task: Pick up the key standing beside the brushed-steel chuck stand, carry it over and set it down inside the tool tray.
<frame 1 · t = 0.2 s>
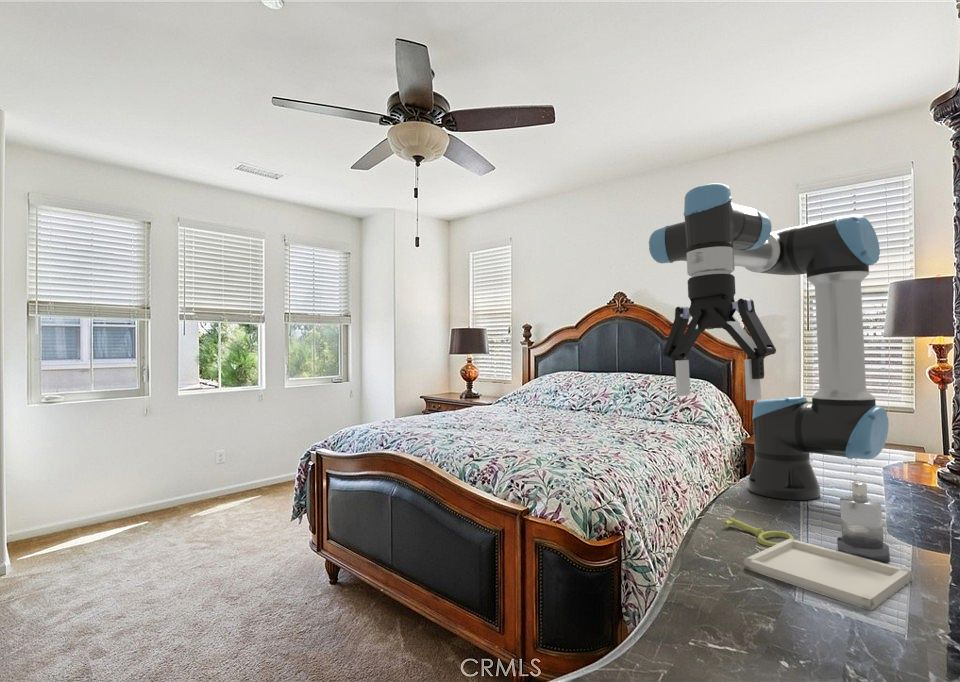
hand: (716, 397, 87), 27 cm above the dresser top, fingers open, 13 cm apart
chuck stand: (863, 555, 85), on the dresser top
tool tray: (824, 574, 78), on the dresser top
key: (759, 539, 95), on the dresser top
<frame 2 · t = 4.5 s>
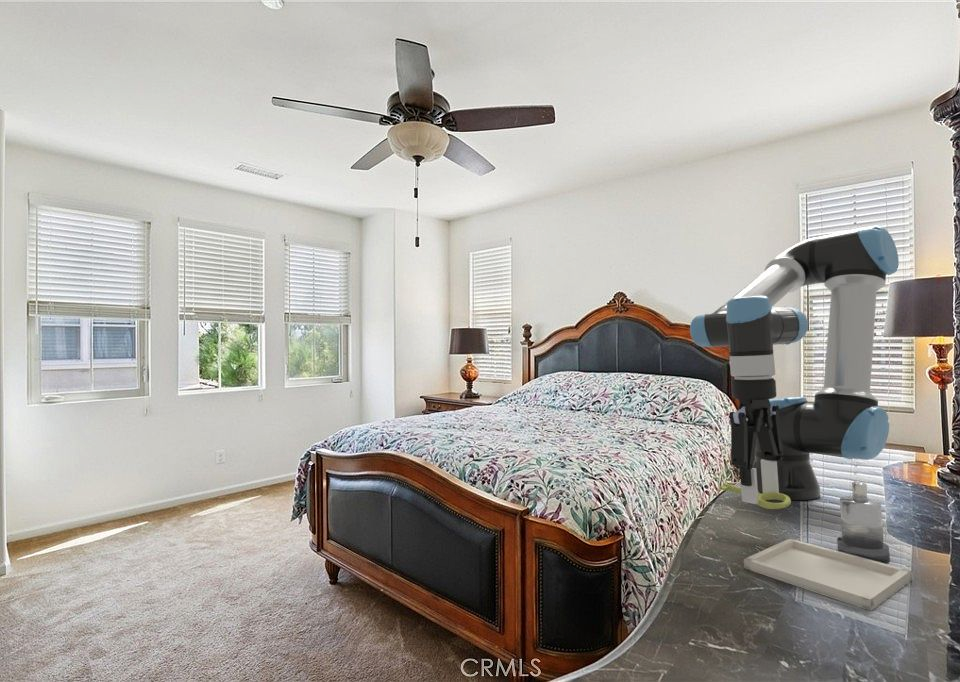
hand: (760, 498, 95), 7 cm above the dresser top, fingers closed on key, 7 cm apart
key: (756, 501, 96), point 6 cm above the dresser top, touching gripper
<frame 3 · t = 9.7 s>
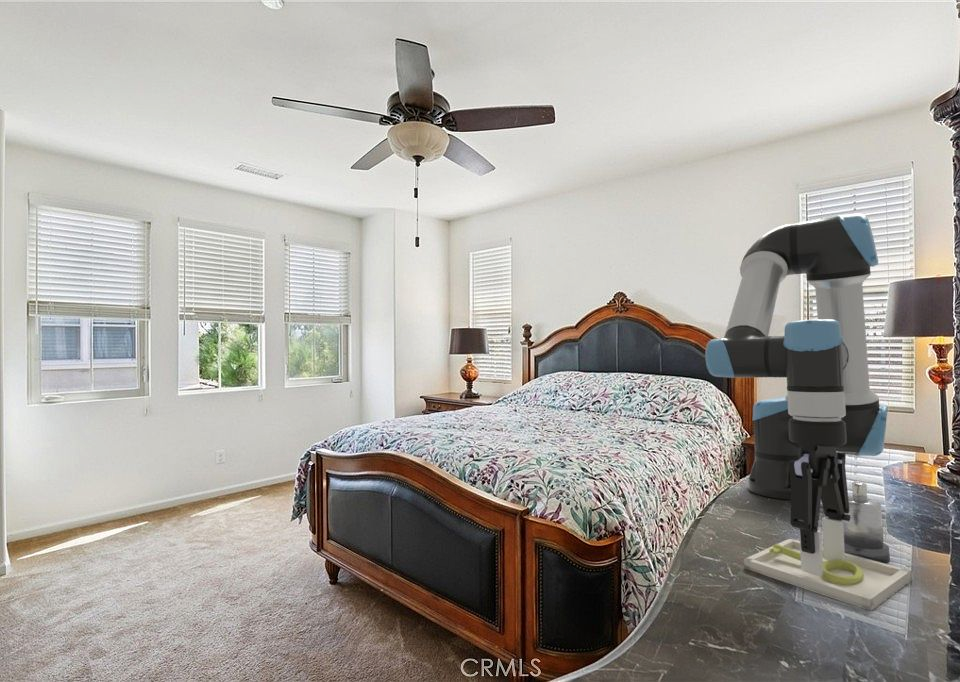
hand: (823, 566, 78), 1 cm above the dresser top, fingers closed on key, 7 cm apart
key: (817, 571, 78), resting on tool tray, touching gripper
when the fingers open (1 cm above the dresser top, at t = 10.0 s): key stays where it is, resting on tool tray.
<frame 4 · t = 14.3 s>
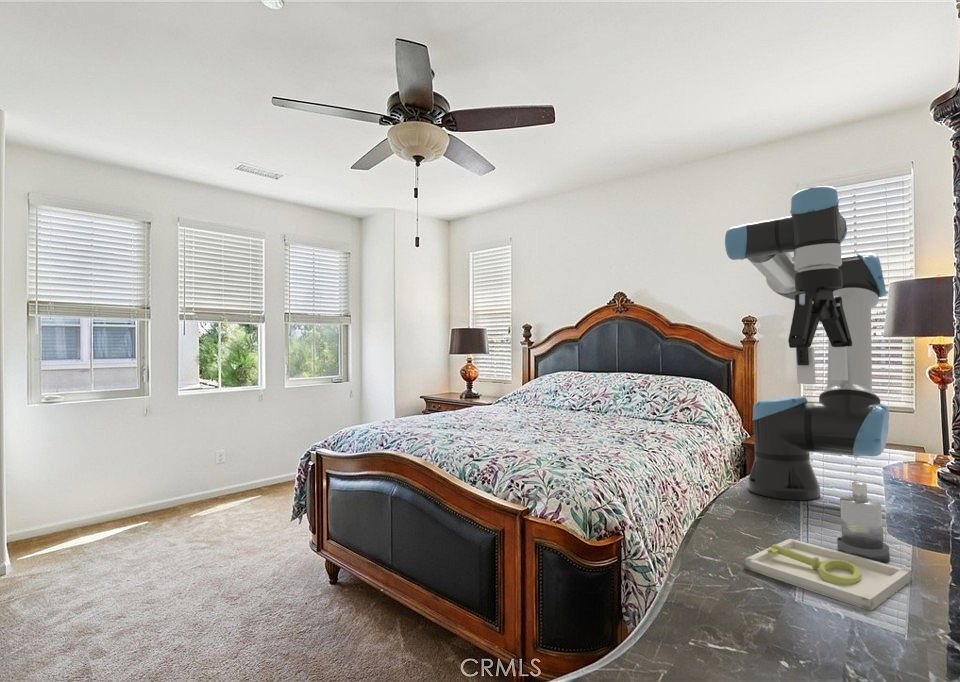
hand: (823, 382, 95), 29 cm above the dresser top, fingers open, 13 cm apart
key: (815, 571, 78), resting on tool tray
at the end: key inside the target area on the tool tray (1.1 cm from its centre), point 0.3 cm above the tool tray's base; the gripper is holding nothing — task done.
